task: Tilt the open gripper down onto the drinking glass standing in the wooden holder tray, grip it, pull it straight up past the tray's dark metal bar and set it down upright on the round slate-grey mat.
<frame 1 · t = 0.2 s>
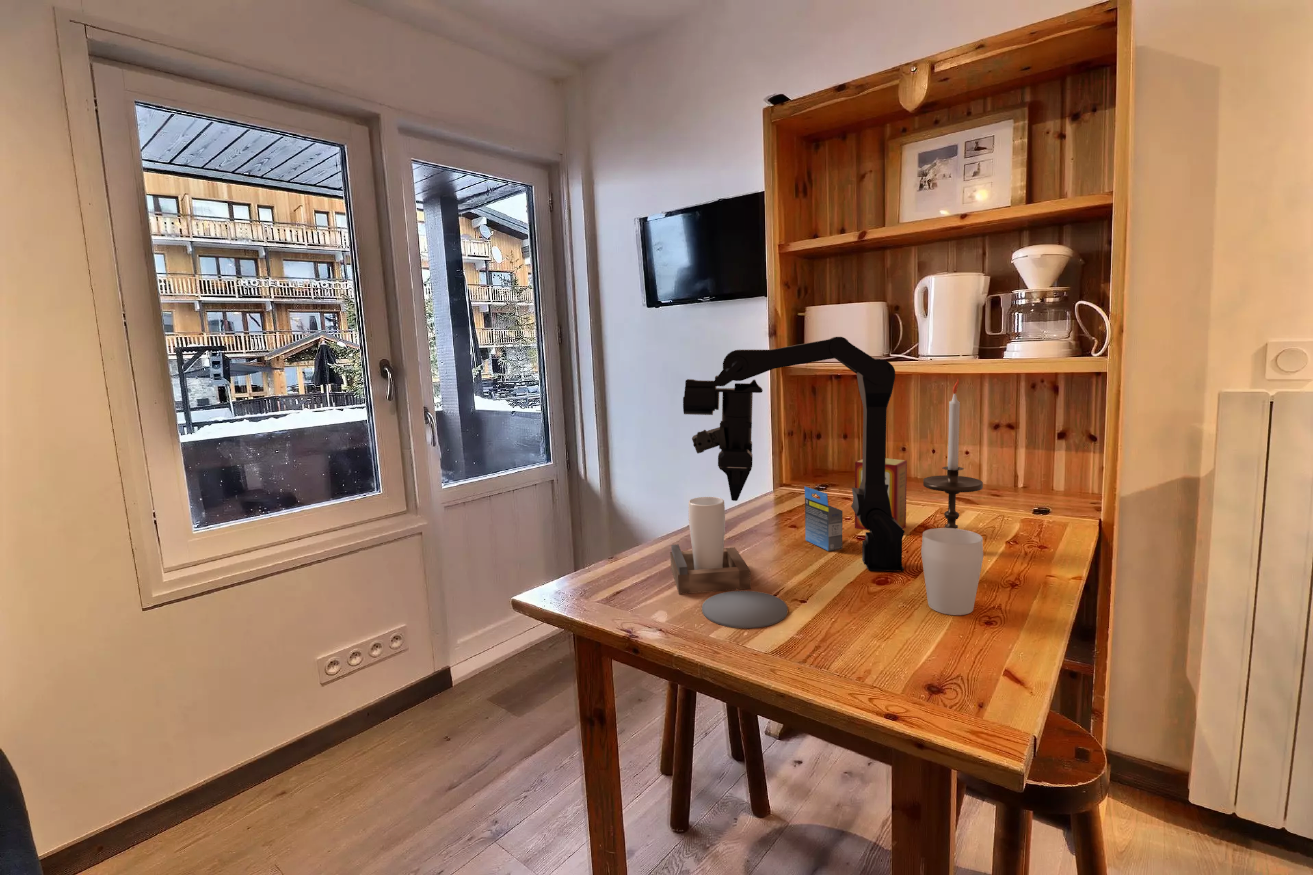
hand: (735, 494, 126), 14 cm above the table, tool pointing down, fingers open, 9 cm apart
baking soda box: (880, 528, 149), on the table
cup: (950, 608, 104), on the table
slate mat: (744, 609, 107), on the table
blue hang tab box: (823, 545, 138), on the table
candlestick: (950, 551, 131), on the table
drinking glass: (708, 579, 121), resting in wooden holder tray
wooden holder tray: (708, 578, 121), on the table
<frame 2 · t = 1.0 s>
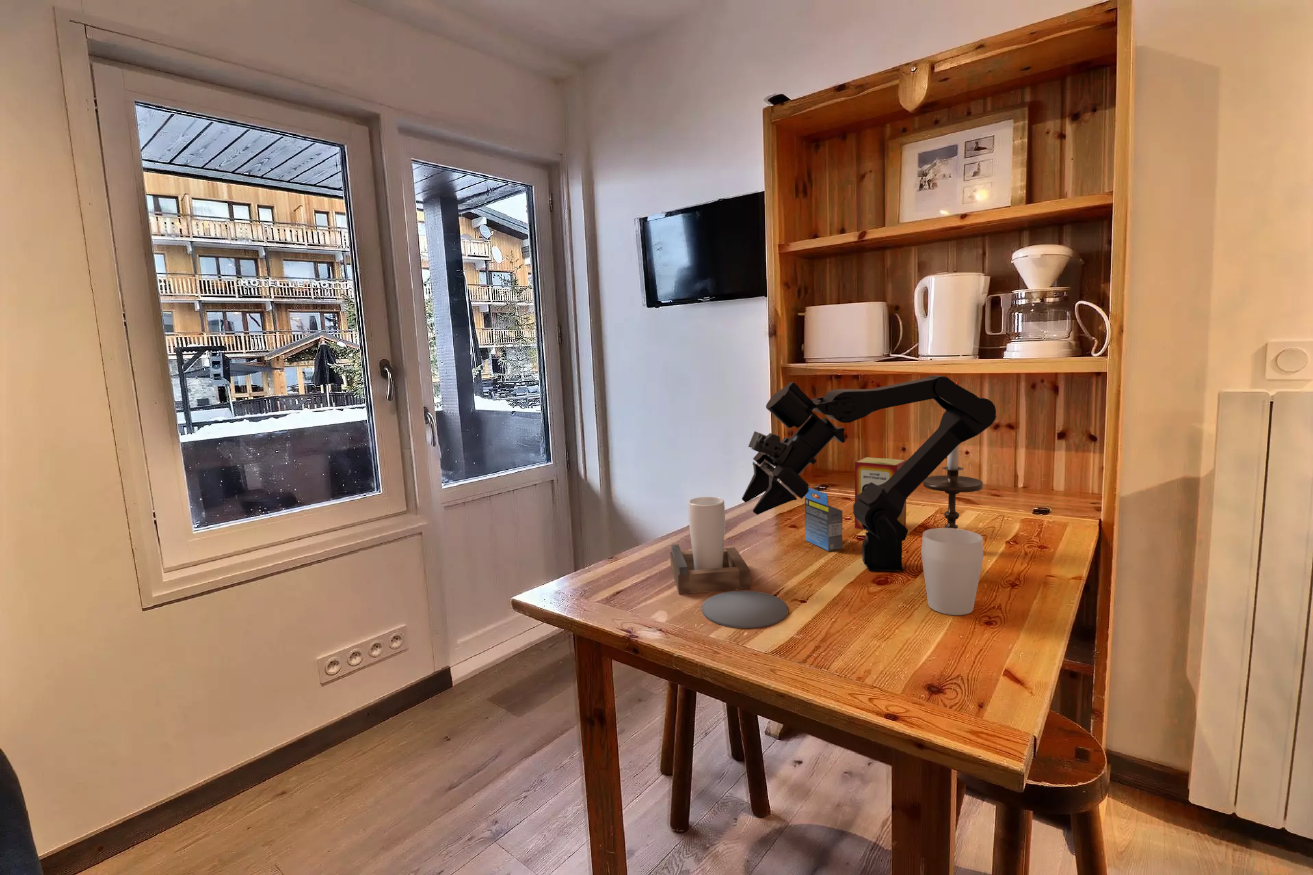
hand: (748, 506, 120), 13 cm above the table, tool tilted 45°, fingers open, 9 cm apart
nothing on the table moved.
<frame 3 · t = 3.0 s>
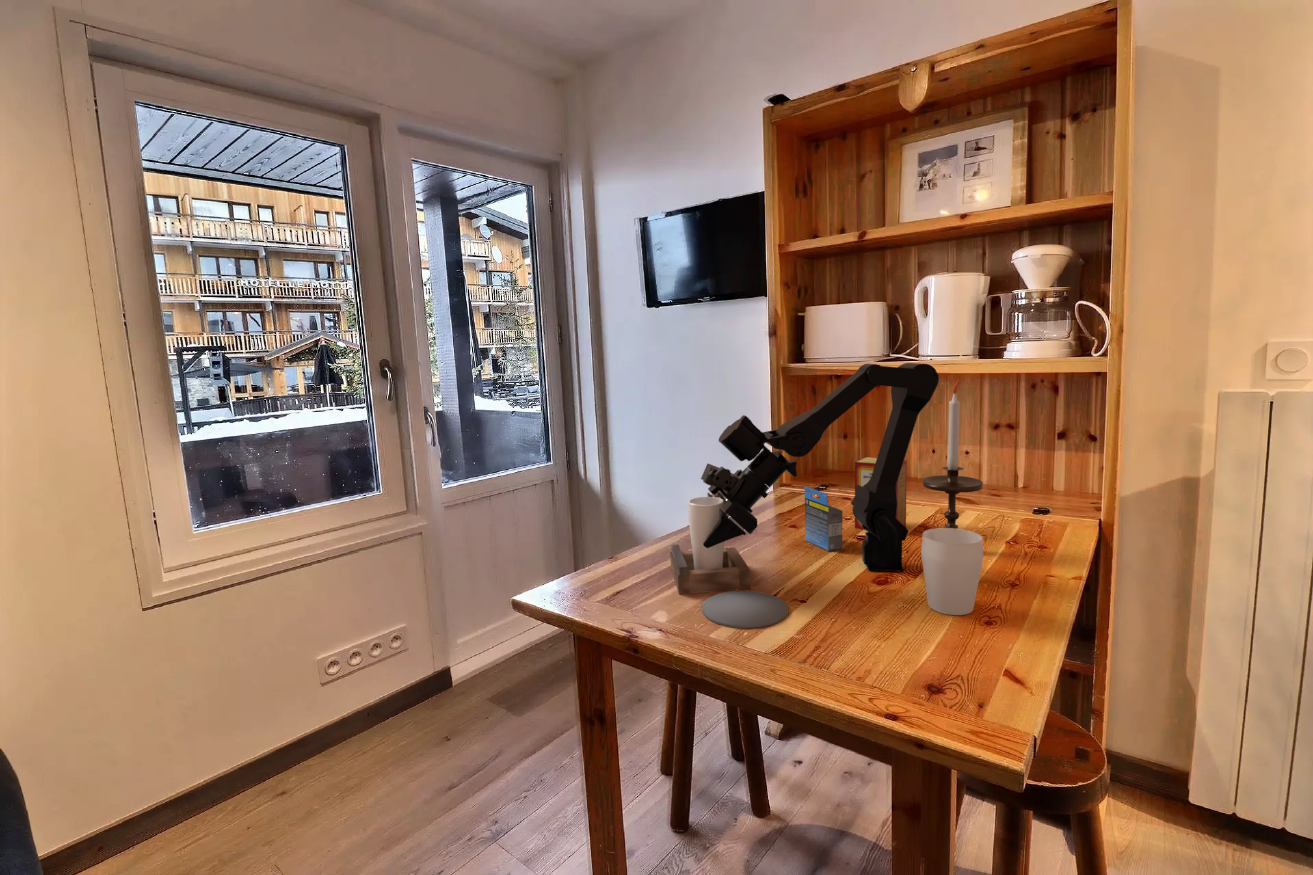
hand: (700, 538, 120), 8 cm above the table, tool tilted 45°, fingers open, 9 cm apart
drinking glass: (708, 579, 121), resting in wooden holder tray, touching gripper
everything else where it was.
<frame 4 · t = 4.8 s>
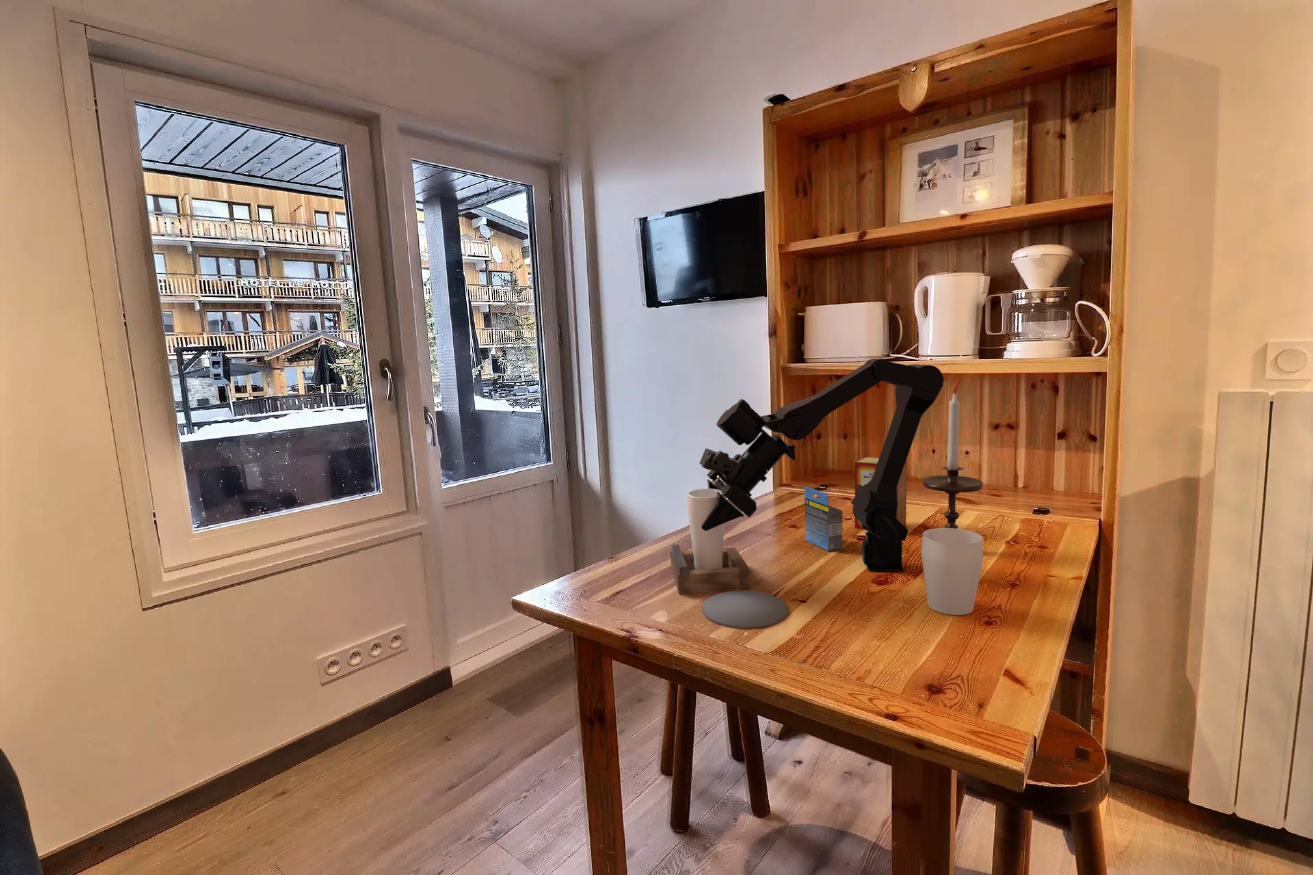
hand: (700, 523, 120), 11 cm above the table, tool tilted 45°, fingers closed on drinking glass, 7 cm apart
drinking glass: (708, 571, 121), point 1 cm above the table, touching gripper
everything else where it was.
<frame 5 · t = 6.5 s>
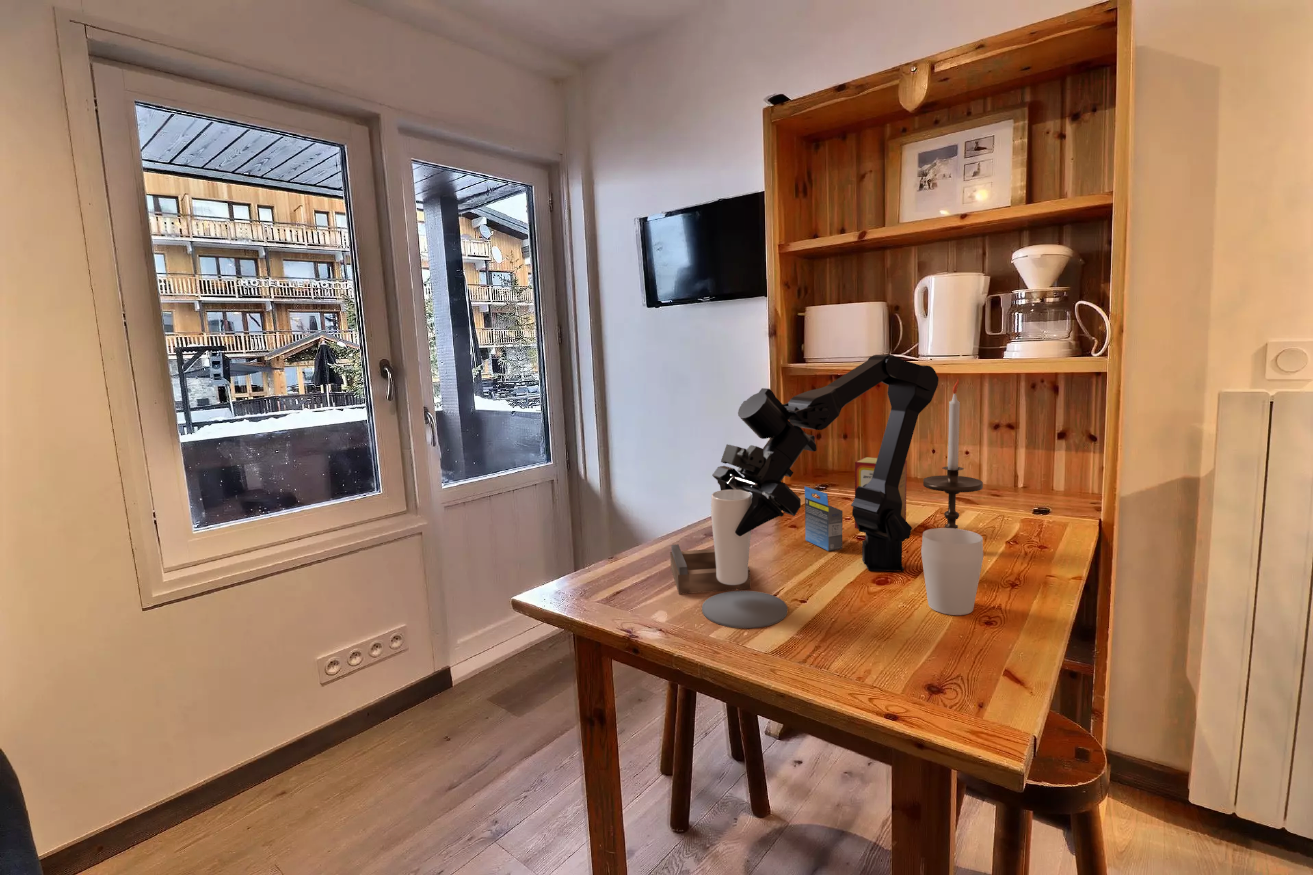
hand: (725, 529, 107), 13 cm above the table, tool tilted 45°, fingers closed on drinking glass, 7 cm apart
drinking glass: (732, 581, 109), point 4 cm above the table, touching gripper
everything else where it was.
when the fingers open (10 cm above the table, at t = 8.3 s): drinking glass stays where it is, resting on slate mat.
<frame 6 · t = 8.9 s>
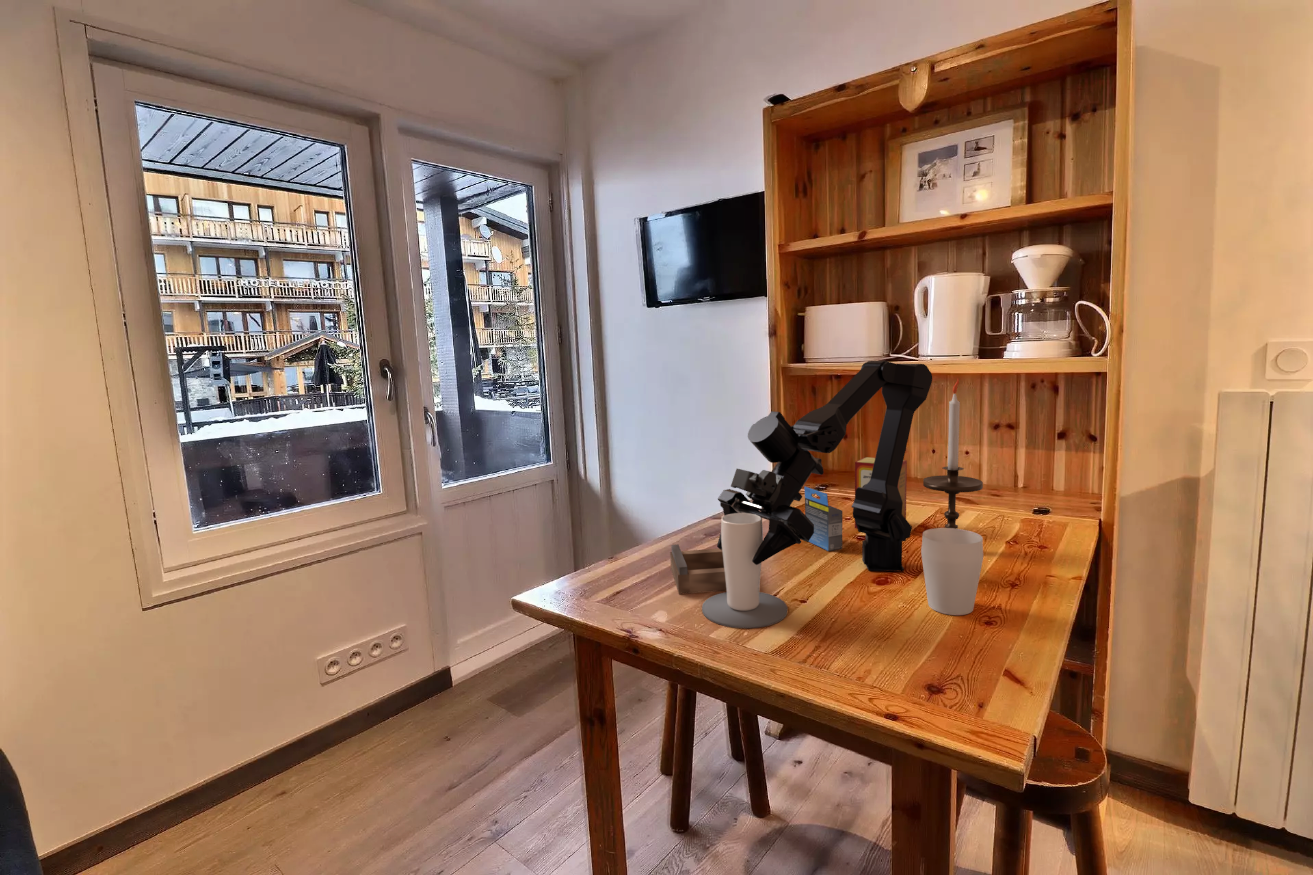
hand: (736, 555, 104), 10 cm above the table, tool tilted 45°, fingers open, 9 cm apart
drinking glass: (743, 606, 107), resting on slate mat
everything else where it was.
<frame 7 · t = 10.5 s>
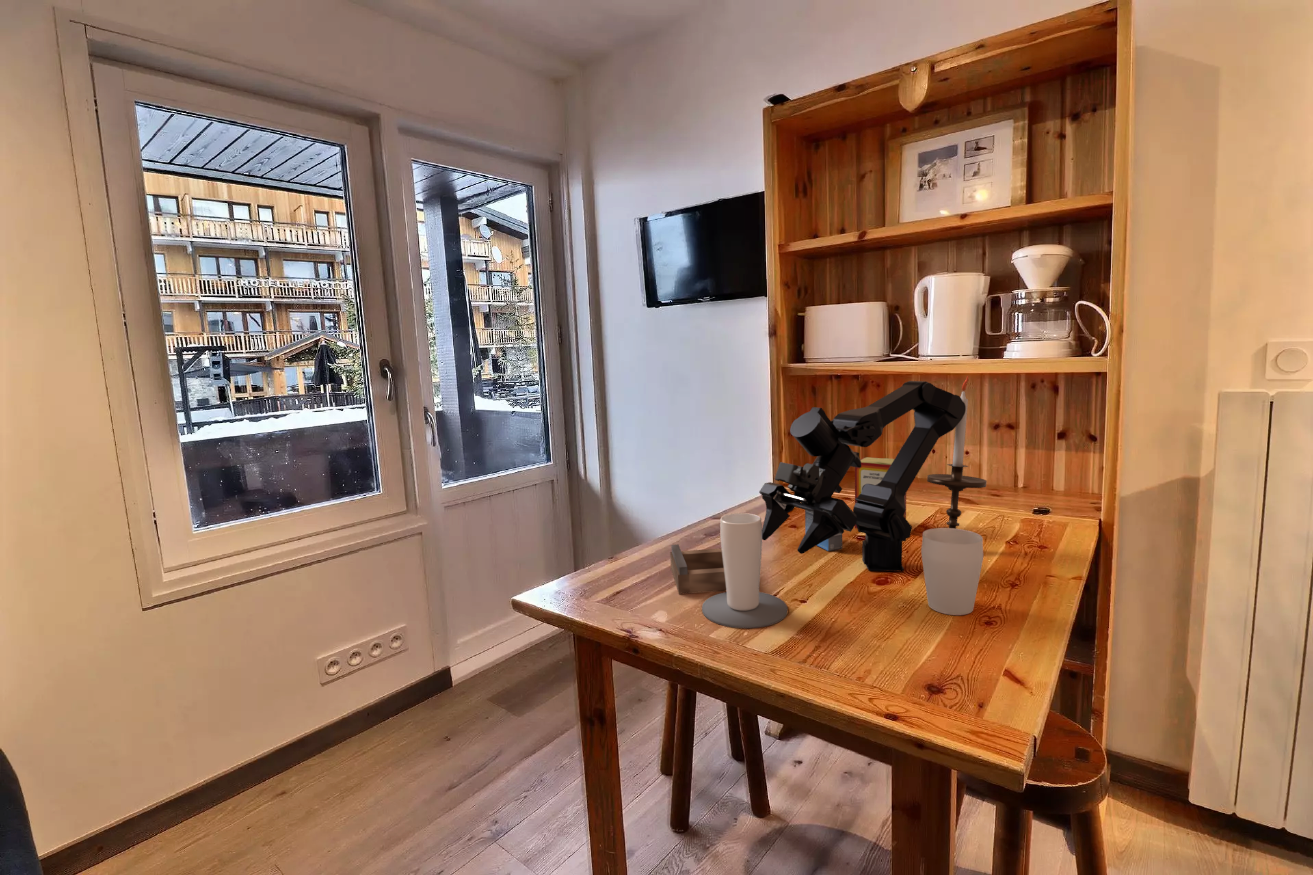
hand: (780, 545, 109), 9 cm above the table, tool tilted 45°, fingers open, 9 cm apart
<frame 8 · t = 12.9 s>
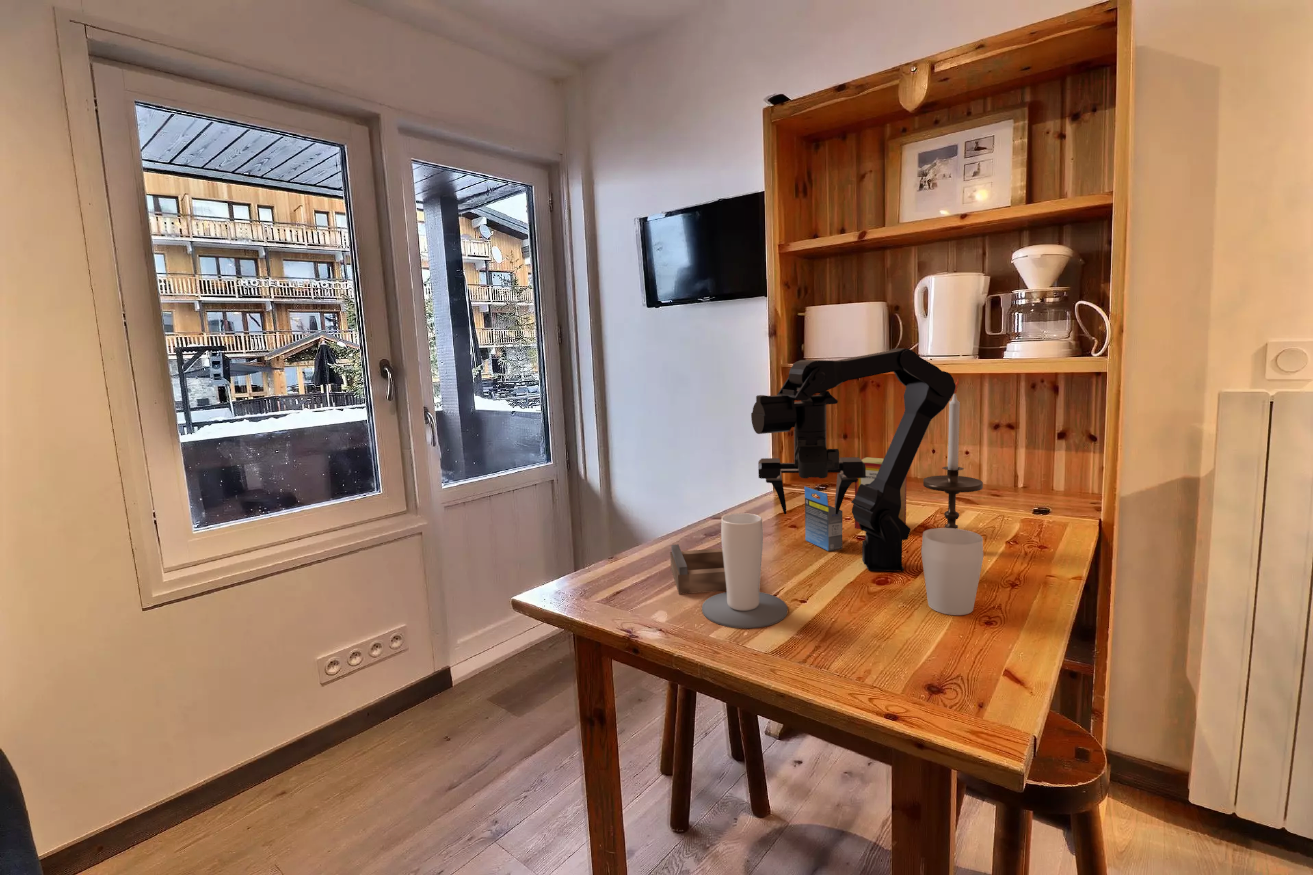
hand: (810, 513, 119), 12 cm above the table, tool pointing down, fingers open, 9 cm apart
at the end: drinking glass inside the target area on the slate mat (0.4 cm from its centre), point 0.3 cm above the slate mat's base; drinking glass tilted 0°; the gripper is holding nothing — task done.
